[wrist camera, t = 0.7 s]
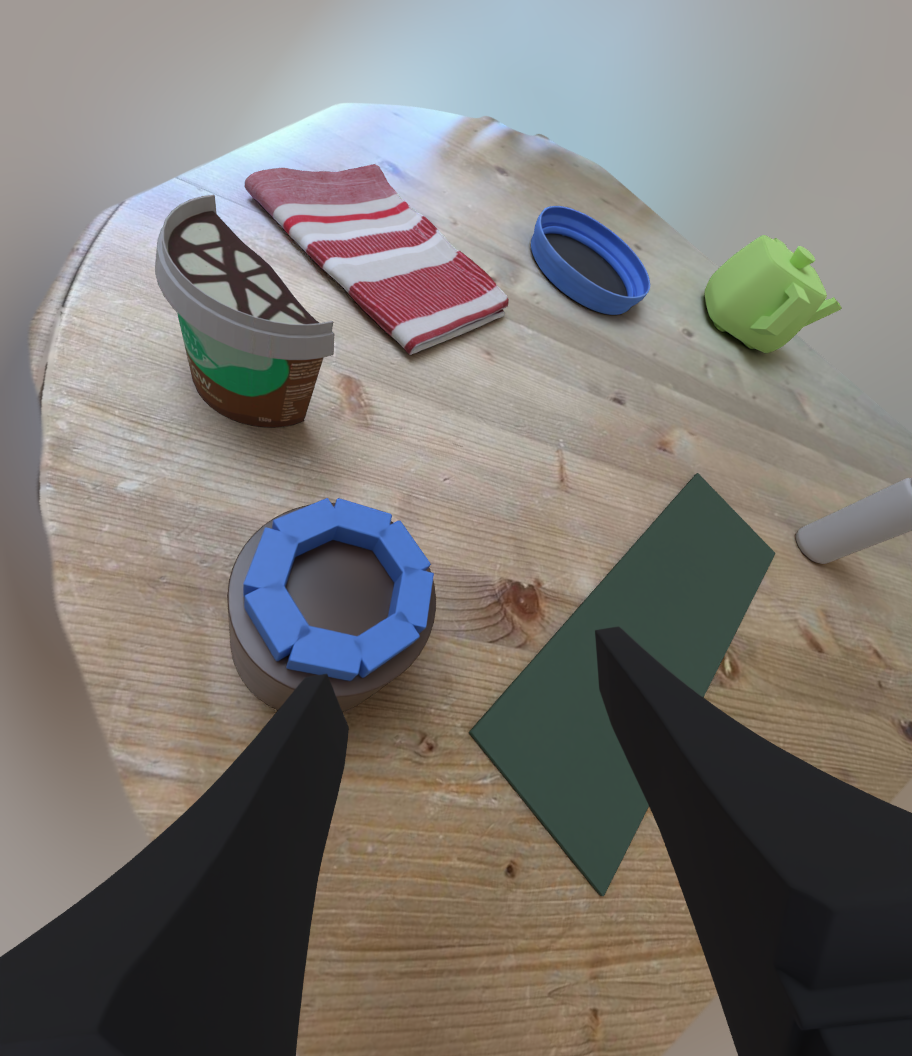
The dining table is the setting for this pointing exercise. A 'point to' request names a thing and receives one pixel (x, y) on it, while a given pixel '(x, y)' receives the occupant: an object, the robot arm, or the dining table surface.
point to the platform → (319, 617)
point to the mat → (573, 686)
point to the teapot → (767, 294)
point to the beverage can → (859, 524)
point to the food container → (238, 321)
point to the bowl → (588, 261)
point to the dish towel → (381, 252)
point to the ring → (326, 647)
